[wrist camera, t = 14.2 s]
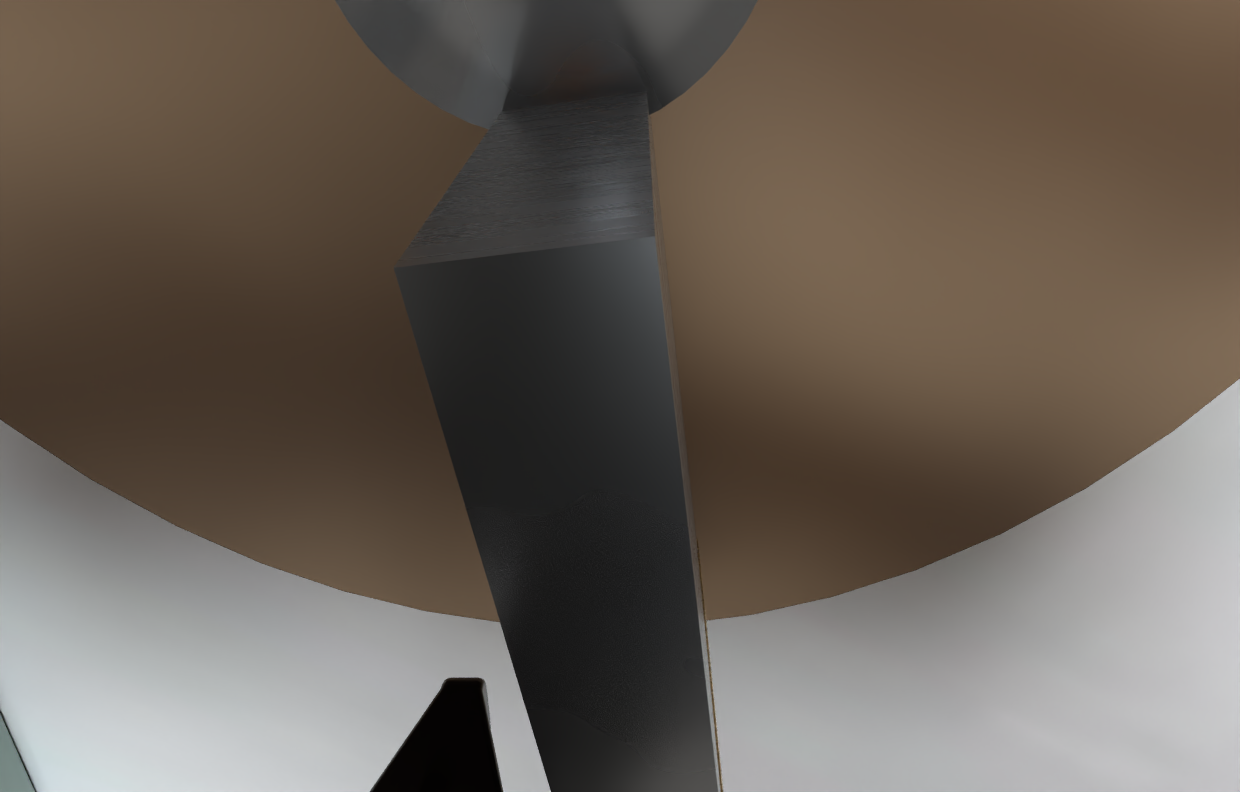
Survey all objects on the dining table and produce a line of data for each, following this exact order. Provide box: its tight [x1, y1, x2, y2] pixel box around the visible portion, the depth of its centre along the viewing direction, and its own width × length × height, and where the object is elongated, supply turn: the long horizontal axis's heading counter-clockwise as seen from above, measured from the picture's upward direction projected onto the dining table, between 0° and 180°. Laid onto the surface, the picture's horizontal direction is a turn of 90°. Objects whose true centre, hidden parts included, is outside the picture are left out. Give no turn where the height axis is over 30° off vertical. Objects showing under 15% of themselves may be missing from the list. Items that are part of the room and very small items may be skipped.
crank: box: [335, 0, 758, 792], centre depth 7 cm, size 11×4×5 cm, turn 8°
